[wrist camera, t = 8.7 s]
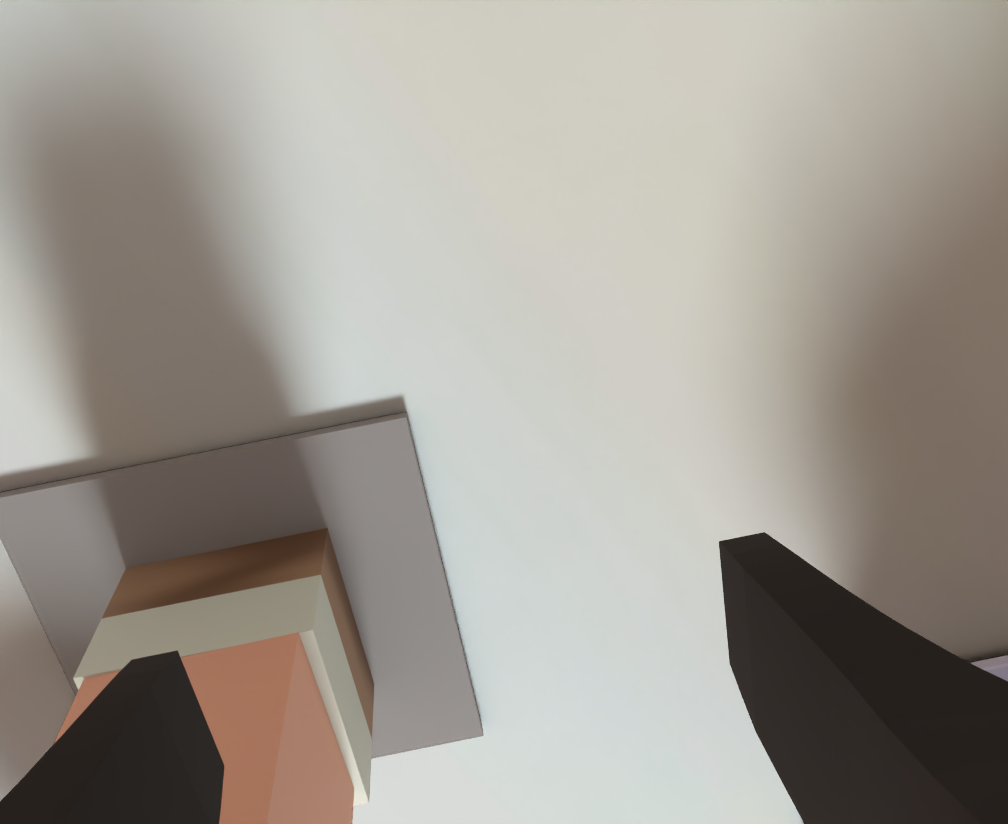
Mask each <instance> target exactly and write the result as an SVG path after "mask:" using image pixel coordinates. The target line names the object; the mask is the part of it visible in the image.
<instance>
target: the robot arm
mask: <svg viewBox="0 0 1008 824" xmlns="http://www.w3.org/2000/svg"><path fill="white" fill-rule="evenodd" d="M719 547H720V559H721V570H722V581H723V593H724V604H725V615H726V626H727V638H728V649H729V660H730V665H731V668H732V671H733V673H734V676H735V679H736V681H737V684H738V687H739V689H740V692H741V695H742V697H743V700H744V703H745V705H746V708H747V710H748V713H749V715H750V718H751V720H752V723H753V726H754V728H755V731H756V733H757V735H758V737H759V738H760V740H761V742H762V744H763V746H764V748H765V750H766V752H767V754H768V756H769V758H770V760H771V761H772V763H773V765H774V767H775V769H776V771H777V773H778V775H779V777H780V779H781V780H782V782H783V784H784V786H785V788H786V790H787V792H788V794H789V796H790V797H791V799H792V801H793V803H794V805H795V807H796V809H797V811H798V812H799V814H800V816H801V818H802V820H803V822H804V824H1008V655H1006V656H1001V657H996V658H991V659H986V660H981V661H976V662H972V663H969V662H967V661H965V660H963V659H961V658H959V657H958V656H956V655H954V654H952V653H950V652H948V651H946V650H945V649H943V648H941V647H939V646H938V645H936V644H934V643H932V642H931V641H929V640H927V639H925V638H924V637H922V636H920V635H918V634H916V633H915V632H913V631H911V630H909V629H908V628H906V627H904V626H903V625H901V624H899V623H898V622H896V621H895V620H893V619H891V618H890V617H888V616H886V615H885V614H883V613H882V612H880V611H878V610H877V609H875V608H874V607H872V606H871V605H869V604H868V603H866V602H865V601H863V600H861V599H860V598H858V597H857V596H855V595H854V594H852V593H851V592H849V591H848V590H846V589H845V588H843V587H842V586H840V585H839V584H837V583H836V582H835V581H833V580H832V579H830V578H829V577H827V576H826V575H825V574H823V573H822V572H820V571H819V570H817V569H816V568H815V567H813V566H812V565H810V564H809V563H807V562H806V561H805V560H803V559H802V558H800V557H799V556H798V555H796V554H795V553H793V552H792V551H791V550H789V549H788V548H786V547H785V546H783V545H782V544H781V543H779V542H778V541H776V540H775V539H773V538H772V537H771V536H769V535H768V534H766V533H765V532H764V533H759V534H754V535H749V536H744V537H739V538H734V539H729V540H724V541H719ZM223 778H224V763H223V761H222V758H221V756H220V753H219V751H218V749H217V746H216V744H215V741H214V739H213V736H212V734H211V731H210V729H209V726H208V724H207V722H206V719H205V717H204V714H203V712H202V709H201V707H200V704H199V702H198V699H197V697H196V694H195V692H194V690H193V687H192V685H191V682H190V680H189V677H188V675H187V672H186V670H185V667H184V665H183V662H182V660H181V658H180V655H179V653H178V650H177V651H172V652H167V653H162V654H157V655H152V656H147V657H142V658H137V659H132V660H131V661H130V662H129V663H128V664H127V665H126V666H125V667H124V668H123V669H122V670H121V671H120V672H119V673H118V674H117V675H116V676H115V677H114V678H113V679H112V680H111V681H110V682H109V684H108V685H107V686H106V687H105V688H104V689H103V690H102V691H101V692H100V693H99V695H98V696H97V697H96V698H95V699H94V700H93V701H92V702H91V703H90V705H89V706H88V707H87V708H86V709H85V710H84V711H83V712H82V714H81V715H80V716H79V717H78V718H77V719H76V720H75V721H74V723H73V724H72V725H71V726H70V727H69V728H68V729H67V730H66V731H65V733H64V734H63V735H62V736H61V737H60V738H59V739H58V740H57V741H56V742H55V744H54V745H53V746H52V747H51V748H50V749H49V750H48V751H47V752H46V753H45V755H44V756H43V757H42V758H41V759H40V760H39V761H38V762H37V763H36V764H35V766H34V767H33V768H32V769H31V770H30V771H29V772H28V773H27V774H26V775H25V777H24V778H23V779H22V780H21V781H20V782H19V783H18V784H17V785H16V786H15V787H14V788H13V789H12V790H11V791H10V792H9V793H8V794H7V795H6V796H5V797H4V798H3V799H2V800H1V801H0V824H219V820H220V811H221V801H222V790H223Z"/></svg>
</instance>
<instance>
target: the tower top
mask: <svg viewBox="0 0 1008 824" xmlns="http://www.w3.org/2000/svg"><path fill="white" fill-rule="evenodd" d="M297 632H299V635H300V638H301V640H302V643H303V646H304V649H305V652H306V655H307V657H308V660H309V663H310V666H311V669H312V671H313V674H314V677H315V680H316V683H317V685H318V688H319V691H320V694H321V697H322V699H323V702H324V705H325V708H326V711H327V713H328V716H329V719H330V722H331V725H332V727H333V730H334V733H335V736H336V739H337V741H338V744H339V747H340V750H341V753H342V755H343V758H344V761H345V764H346V767H347V770H348V772H349V775H350V778H351V781H352V784H353V786H354V802H353V806H358V805H363V804H368V803H369V794H370V772H371V750H372V738H371V735H370V732H369V728H368V725H367V722H366V719H365V715H364V712H363V709H362V706H361V703H360V699H359V696H358V693H357V690H356V686H355V683H354V680H353V677H352V674H351V670H350V667H349V664H348V661H347V657H346V654H345V651H344V648H343V645H342V641H341V638H340V635H339V632H338V628H337V625H336V622H335V619H334V616H333V612H332V609H331V606H330V603H329V599H328V596H327V593H326V590H325V587H324V583H323V580H322V577H321V575H317V576H312V577H307V578H302V579H297V580H292V581H287V582H282V583H277V584H272V585H267V586H262V587H257V588H252V589H247V590H242V591H237V592H232V593H227V594H222V595H217V596H212V597H207V598H202V599H197V600H192V601H187V602H182V603H177V604H172V605H167V606H162V607H157V608H152V609H147V610H142V611H137V612H132V613H127V614H122V615H117V616H112V617H107V618H102V619H101V621H100V623H99V625H98V627H97V629H96V631H95V633H94V636H93V638H92V640H91V642H90V644H89V646H88V648H87V650H86V652H85V654H84V656H83V659H82V661H81V663H80V665H79V667H78V669H77V671H76V673H75V675H74V677H73V679H74V681H75V684H76V686H77V688H78V690H79V688H80V686H81V684H82V682H83V680H84V678H89V677H93V676H98V675H103V674H107V673H112V672H116V671H121V670H122V669H123V668H124V667H125V666H126V665H127V664H128V663H129V662H130V661H131V660H132V659H137V658H142V657H147V656H152V655H157V654H162V653H167V652H172V651H177V650H178V653H179V655H180V658H181V657H186V656H190V655H195V654H200V653H204V652H209V651H214V650H218V649H223V648H227V647H232V646H237V645H241V644H246V643H251V642H255V641H260V640H264V639H269V638H274V637H278V636H283V635H288V634H292V633H297Z"/></svg>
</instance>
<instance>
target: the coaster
mask: <svg viewBox="0 0 1008 824" xmlns="http://www.w3.org/2000/svg"><path fill="white" fill-rule="evenodd" d="M325 528H328V531H329V535H330V538H331V541H332V545H333V548H334V551H335V555H336V558H337V561H338V565H339V568H340V571H341V575H342V578H343V581H344V585H345V588H346V592H347V595H348V598H349V602H350V605H351V608H352V612H353V615H354V618H355V622H356V625H357V628H358V632H359V635H360V638H361V642H362V645H363V648H364V652H365V655H366V658H367V662H368V665H369V668H370V672H371V675H372V678H373V682H374V705H373V727H372V750H371V759H372V758H376V757H381V756H386V755H391V754H396V753H401V752H406V751H411V750H416V749H421V748H426V747H431V746H435V745H440V744H445V743H450V742H455V741H460V740H465V739H470V738H475V737H480V736H483V729H482V725H481V720H480V716H479V712H478V708H477V704H476V700H475V696H474V691H473V687H472V683H471V679H470V675H469V671H468V667H467V662H466V658H465V654H464V650H463V646H462V642H461V638H460V633H459V629H458V625H457V621H456V617H455V613H454V609H453V604H452V600H451V596H450V592H449V588H448V584H447V580H446V576H445V571H444V567H443V563H442V559H441V555H440V551H439V547H438V542H437V538H436V534H435V530H434V526H433V522H432V518H431V513H430V509H429V505H428V501H427V497H426V493H425V489H424V484H423V480H422V476H421V472H420V468H419V464H418V460H417V455H416V451H415V447H414V443H413V439H412V435H411V431H410V426H409V422H408V418H407V414H406V412H404V413H399V414H394V415H389V416H384V417H378V418H373V419H368V420H363V421H358V422H353V423H348V424H343V425H338V426H333V427H328V428H323V429H318V430H313V431H308V432H303V433H298V434H293V435H288V436H283V437H278V438H273V439H268V440H262V441H257V442H252V443H247V444H242V445H237V446H232V447H227V448H222V449H217V450H212V451H207V452H202V453H197V454H192V455H187V456H182V457H177V458H172V459H167V460H162V461H157V462H152V463H146V464H141V465H136V466H131V467H126V468H121V469H116V470H111V471H106V472H101V473H96V474H91V475H86V476H81V477H76V478H71V479H66V480H61V481H56V482H51V483H46V484H41V485H35V486H30V487H25V488H20V489H15V490H10V491H5V492H0V539H1V541H2V543H3V545H4V547H5V549H6V551H7V553H8V555H9V557H10V560H11V562H12V564H13V566H14V568H15V570H16V572H17V574H18V576H19V578H20V580H21V583H22V585H23V587H24V589H25V591H26V593H27V595H28V597H29V599H30V601H31V603H32V606H33V608H34V610H35V612H36V614H37V616H38V618H39V620H40V622H41V624H42V626H43V629H44V631H45V633H46V635H47V637H48V639H49V641H50V643H51V645H52V647H53V650H54V652H55V654H56V656H57V658H58V660H59V662H60V664H61V666H62V668H63V670H64V673H65V675H66V677H67V679H68V681H69V683H70V685H71V687H72V689H73V691H74V693H75V696H76V695H77V692H78V688H77V686H76V684H75V681H74V679H73V677H74V675H75V673H76V671H77V669H78V667H79V665H80V663H81V661H82V659H83V656H84V654H85V652H86V650H87V648H88V646H89V644H90V642H91V640H92V638H93V636H94V633H95V631H96V629H97V627H98V625H99V623H100V621H101V619H102V617H103V615H104V613H105V611H106V608H107V606H108V604H109V602H110V600H111V598H112V596H113V594H114V592H115V590H116V588H117V586H118V583H119V581H120V579H121V577H122V575H123V573H124V571H125V569H126V568H130V567H135V566H140V565H145V564H150V563H155V562H160V561H165V560H170V559H175V558H180V557H185V556H190V555H195V554H200V553H205V552H210V551H215V550H220V549H225V548H230V547H235V546H240V545H245V544H250V543H255V542H260V541H265V540H270V539H275V538H280V537H285V536H290V535H295V534H300V533H305V532H310V531H315V530H320V529H325Z"/></svg>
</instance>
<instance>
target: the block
mask: <svg viewBox="0 0 1008 824" xmlns="http://www.w3.org/2000/svg"><path fill="white" fill-rule="evenodd" d="M181 660H182V662H183V665H184V667H185V670H186V672H187V675H188V677H189V680H190V682H191V685H192V687H193V690H194V692H195V694H196V697H197V699H198V702H199V704H200V707H201V709H202V712H203V714H204V717H205V719H206V722H207V724H208V726H209V729H210V731H211V734H212V736H213V739H214V741H215V744H216V746H217V749H218V751H219V753H220V756H221V758H222V761H223V763H224V778H223V790H222V801H221V811H220V820H219V824H352V818H353V802H354V786H353V784H352V781H351V778H350V775H349V772H348V770H347V767H346V764H345V761H344V758H343V755H342V753H341V750H340V747H339V744H338V741H337V739H336V736H335V733H334V730H333V727H332V725H331V722H330V719H329V716H328V713H327V711H326V708H325V705H324V702H323V699H322V697H321V694H320V691H319V688H318V685H317V683H316V680H315V677H314V674H313V671H312V669H311V666H310V663H309V660H308V657H307V655H306V652H305V649H304V646H303V643H302V640H301V638H300V635H299V632H297V633H292V634H288V635H283V636H278V637H274V638H269V639H264V640H260V641H255V642H251V643H246V644H241V645H237V646H232V647H227V648H223V649H218V650H214V651H209V652H204V653H200V654H195V655H190V656H186V657H181ZM119 672H120V671H116V672H112V673H107V674H103V675H98V676H93V677H89V678H84V680H83V682H82V684H81V686H80V688H79V690H78V692H77V695H76V697H75V699H74V701H73V703H72V705H71V708H70V710H69V712H68V714H67V716H66V718H65V721H64V723H63V725H62V727H61V729H60V731H59V733H58V736H57V738H56V740H55V742H56V741H57V740H58V739H59V738H60V737H61V736H62V735H63V734H64V733H65V731H66V730H67V729H68V728H69V727H70V726H71V725H72V724H73V723H74V721H75V720H76V719H77V718H78V717H79V716H80V715H81V714H82V712H83V711H84V710H85V709H86V708H87V707H88V706H89V705H90V703H91V702H92V701H93V700H94V699H95V698H96V697H97V696H98V695H99V693H100V692H101V691H102V690H103V689H104V688H105V687H106V686H107V685H108V684H109V682H110V681H111V680H112V679H113V678H114V677H115V676H116V675H117V674H118V673H119ZM55 742H54V744H55ZM54 744H53V745H54Z"/></svg>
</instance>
